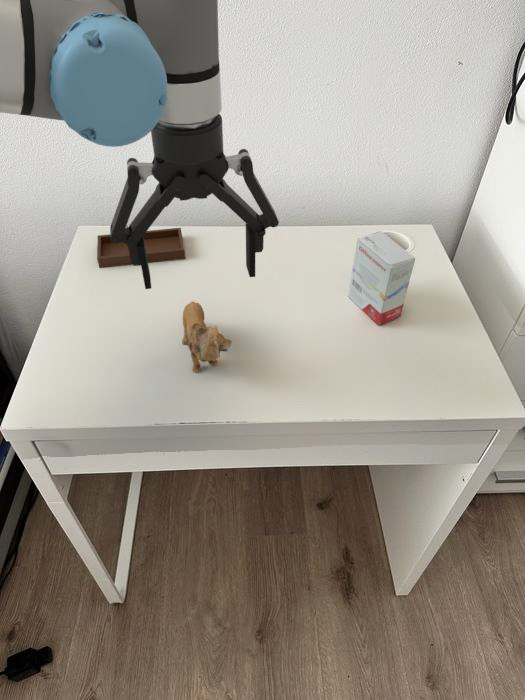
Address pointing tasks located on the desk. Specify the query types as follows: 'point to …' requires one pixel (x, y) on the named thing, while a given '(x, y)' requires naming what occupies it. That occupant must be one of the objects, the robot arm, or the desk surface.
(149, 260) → the tray
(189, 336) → the lion figurine
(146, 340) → the desk surface
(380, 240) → the ink box
